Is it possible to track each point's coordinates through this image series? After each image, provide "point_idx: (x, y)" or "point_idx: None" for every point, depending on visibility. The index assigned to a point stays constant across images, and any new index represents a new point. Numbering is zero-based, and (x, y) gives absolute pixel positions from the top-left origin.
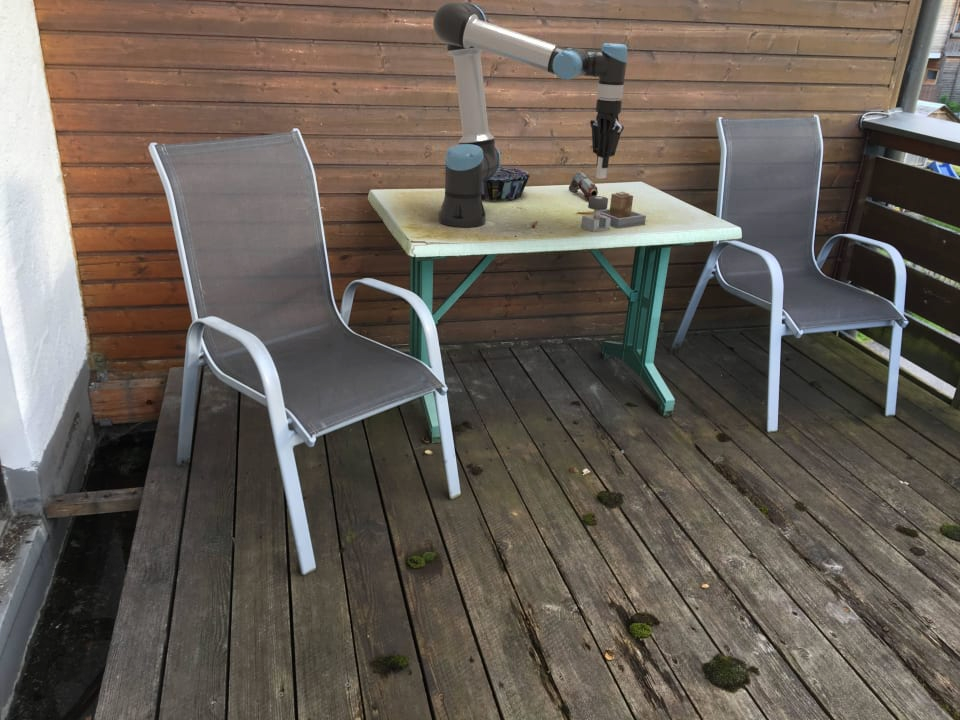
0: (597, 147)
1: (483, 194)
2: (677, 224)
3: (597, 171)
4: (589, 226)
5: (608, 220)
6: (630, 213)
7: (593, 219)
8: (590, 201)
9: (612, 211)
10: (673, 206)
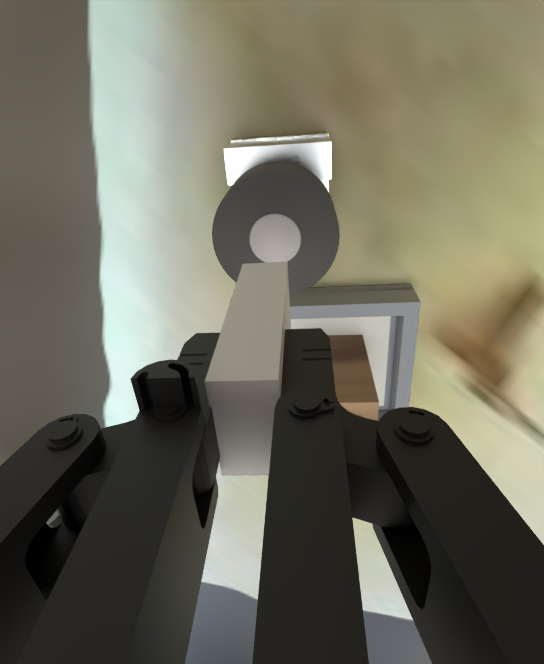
0: (338, 495)
1: None
2: (225, 492)
3: (273, 287)
4: (264, 140)
5: None
6: None
7: (240, 153)
8: (279, 169)
9: (346, 352)
10: (402, 595)
